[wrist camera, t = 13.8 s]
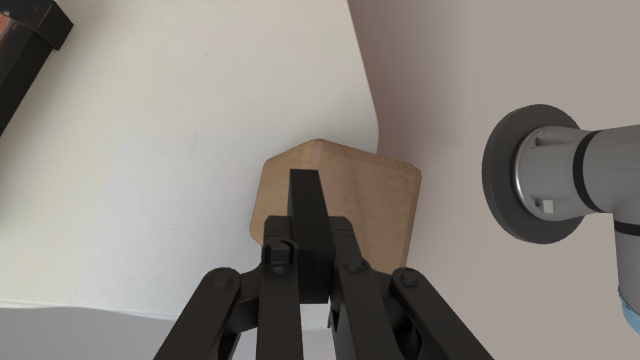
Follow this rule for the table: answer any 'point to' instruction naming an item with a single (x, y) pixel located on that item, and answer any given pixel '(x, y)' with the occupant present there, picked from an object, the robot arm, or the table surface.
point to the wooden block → (349, 196)
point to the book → (26, 47)
